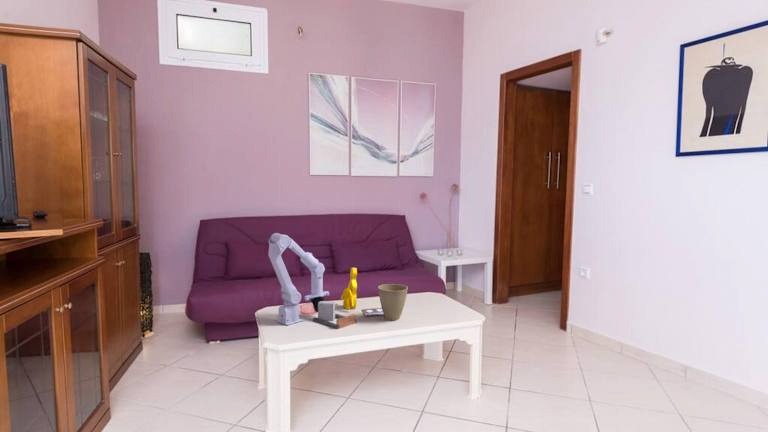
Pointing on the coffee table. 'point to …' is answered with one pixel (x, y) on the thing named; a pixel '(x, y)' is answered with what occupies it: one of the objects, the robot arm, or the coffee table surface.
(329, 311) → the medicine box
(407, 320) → the coffee table surface
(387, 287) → the plant pot
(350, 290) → the figure statuette
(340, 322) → the grey and brown pieces
